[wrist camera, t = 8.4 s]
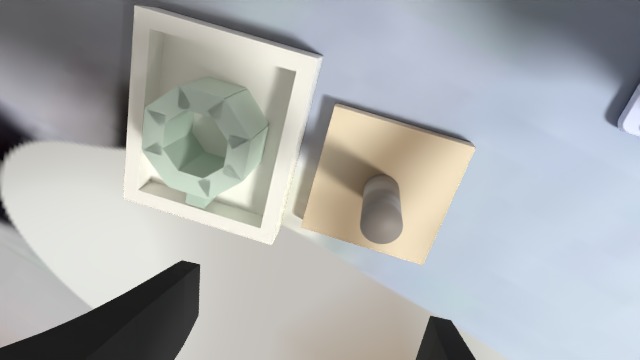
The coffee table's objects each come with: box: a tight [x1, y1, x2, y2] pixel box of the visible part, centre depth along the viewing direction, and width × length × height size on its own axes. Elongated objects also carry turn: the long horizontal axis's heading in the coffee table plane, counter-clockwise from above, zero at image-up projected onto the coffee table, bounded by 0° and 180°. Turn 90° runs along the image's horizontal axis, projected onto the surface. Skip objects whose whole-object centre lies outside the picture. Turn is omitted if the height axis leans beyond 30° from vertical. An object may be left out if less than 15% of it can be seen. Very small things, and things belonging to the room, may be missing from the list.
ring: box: [141, 77, 269, 209], centre depth 19 cm, size 5×6×3 cm
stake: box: [301, 103, 476, 265], centre depth 18 cm, size 7×7×5 cm
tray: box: [123, 5, 324, 245], centre depth 20 cm, size 9×10×2 cm
